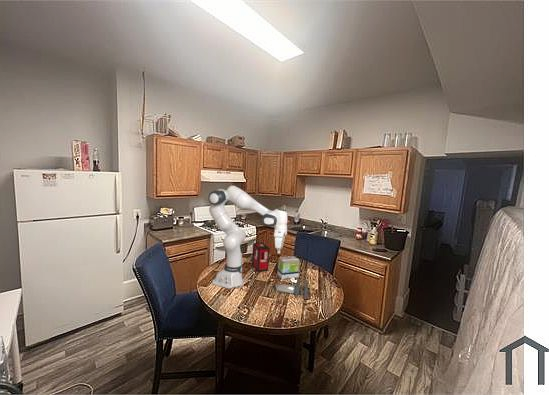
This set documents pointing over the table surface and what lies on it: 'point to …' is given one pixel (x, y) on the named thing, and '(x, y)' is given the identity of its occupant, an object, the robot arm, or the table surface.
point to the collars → (305, 288)
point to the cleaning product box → (260, 257)
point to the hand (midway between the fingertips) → (280, 250)
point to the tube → (287, 288)
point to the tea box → (288, 267)
